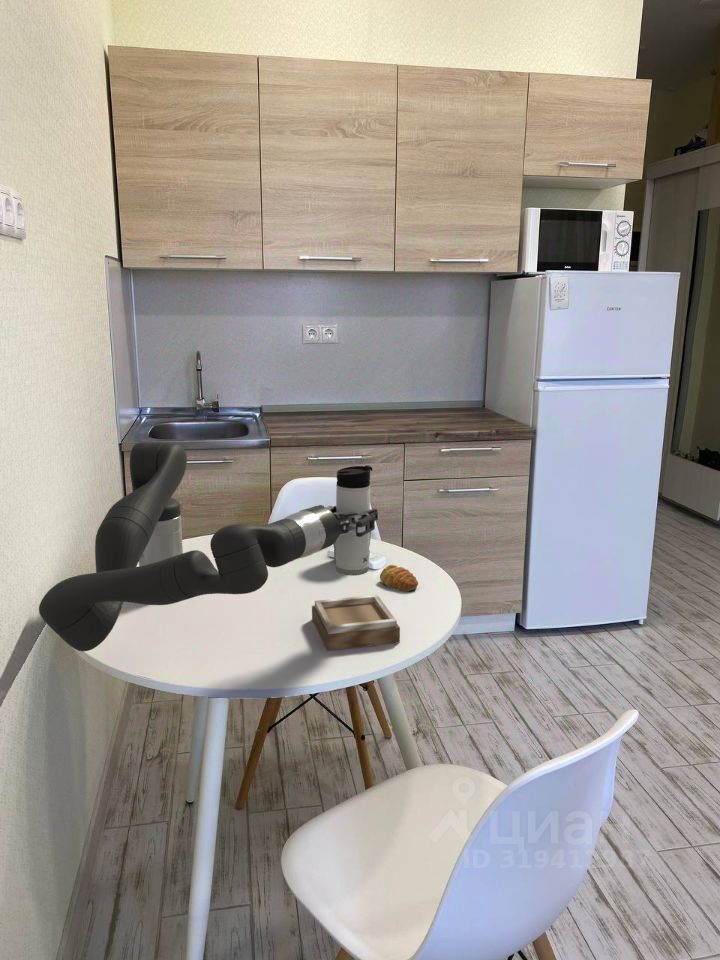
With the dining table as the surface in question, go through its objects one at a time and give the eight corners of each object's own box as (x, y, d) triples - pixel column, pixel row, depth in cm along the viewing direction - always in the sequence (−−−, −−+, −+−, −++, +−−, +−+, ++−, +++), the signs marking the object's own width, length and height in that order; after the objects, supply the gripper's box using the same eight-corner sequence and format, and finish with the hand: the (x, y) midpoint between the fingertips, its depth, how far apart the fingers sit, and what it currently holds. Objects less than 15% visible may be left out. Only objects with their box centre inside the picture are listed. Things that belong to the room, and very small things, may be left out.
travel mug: (374, 574, 133) (376, 469, 128) (340, 577, 131) (341, 471, 126) (365, 563, 138) (366, 462, 134) (332, 566, 137) (332, 464, 132)
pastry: (425, 588, 160) (425, 572, 159) (403, 595, 156) (403, 579, 155) (398, 576, 167) (398, 561, 166) (376, 583, 163) (376, 567, 162)
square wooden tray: (326, 650, 130) (326, 629, 129) (312, 619, 143) (311, 600, 142) (399, 642, 133) (400, 621, 132) (378, 612, 146) (379, 593, 145)
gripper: (274, 545, 125) (330, 523, 139) (340, 561, 118) (393, 536, 131) (273, 504, 124) (330, 486, 137) (340, 518, 116) (393, 497, 129)
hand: (360, 511), depth 134 cm, fingers closed on travel mug, 6 cm apart
